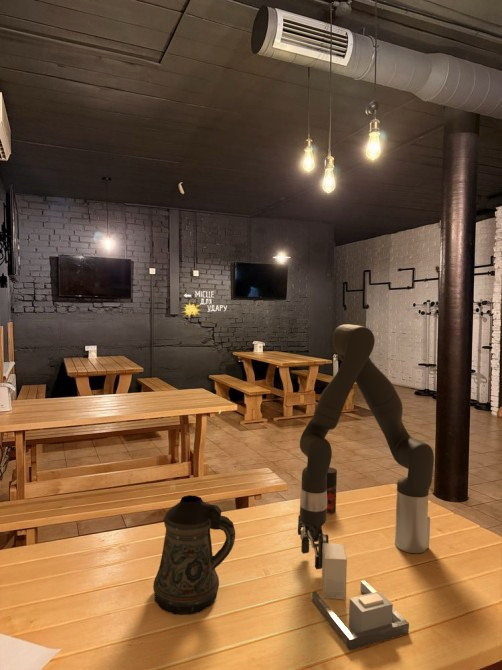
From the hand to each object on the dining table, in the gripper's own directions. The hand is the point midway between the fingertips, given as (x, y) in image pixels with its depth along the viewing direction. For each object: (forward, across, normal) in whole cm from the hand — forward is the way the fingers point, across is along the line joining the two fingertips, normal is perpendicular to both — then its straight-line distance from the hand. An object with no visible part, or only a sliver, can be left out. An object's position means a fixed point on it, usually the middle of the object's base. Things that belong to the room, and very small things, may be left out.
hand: (311, 560), depth 130 cm
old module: (+2, -28, -1) cm, 28 cm away
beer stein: (+2, -2, +35) cm, 35 cm away
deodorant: (+2, +30, -22) cm, 37 cm away
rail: (+2, -22, 0) cm, 22 cm away
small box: (+2, -12, 0) cm, 12 cm away
